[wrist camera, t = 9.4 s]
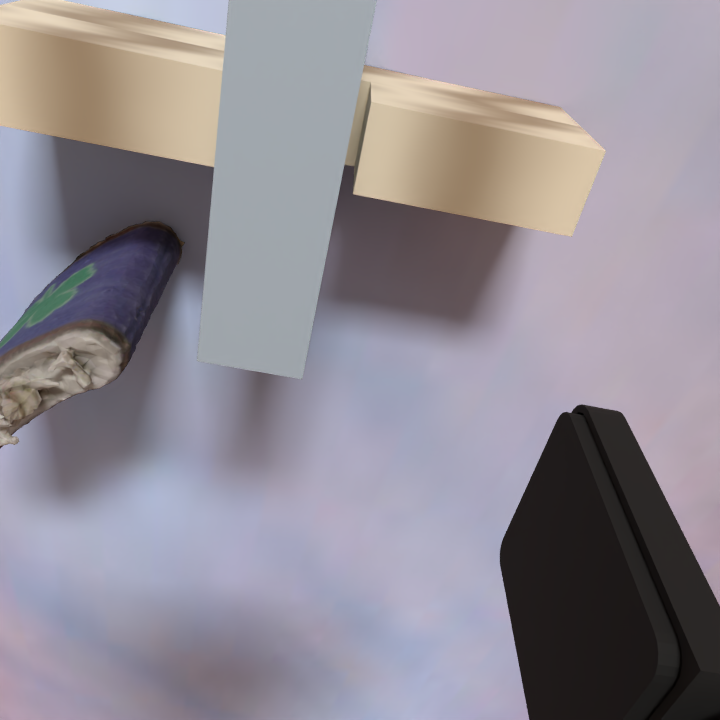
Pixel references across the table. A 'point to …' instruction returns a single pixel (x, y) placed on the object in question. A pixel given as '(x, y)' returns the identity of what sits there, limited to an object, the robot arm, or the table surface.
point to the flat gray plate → (278, 175)
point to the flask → (84, 323)
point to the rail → (369, 128)
